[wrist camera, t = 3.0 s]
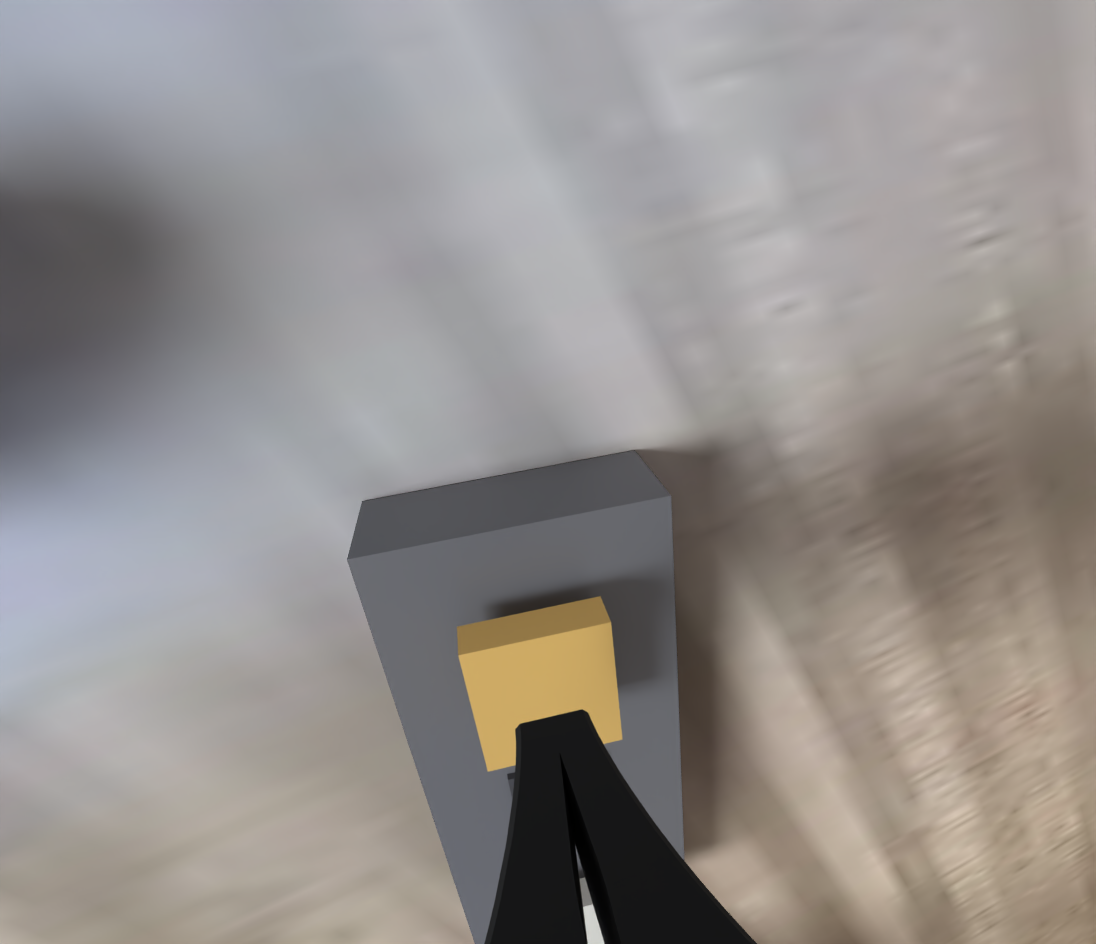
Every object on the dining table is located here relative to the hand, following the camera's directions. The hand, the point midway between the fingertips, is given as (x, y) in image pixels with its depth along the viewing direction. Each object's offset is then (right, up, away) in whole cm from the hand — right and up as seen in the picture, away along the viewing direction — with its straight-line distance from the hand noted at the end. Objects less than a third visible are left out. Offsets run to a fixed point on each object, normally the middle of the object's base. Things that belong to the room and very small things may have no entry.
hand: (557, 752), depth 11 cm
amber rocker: (0, 0, +4) cm, 4 cm away
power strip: (0, -5, +11) cm, 12 cm away
